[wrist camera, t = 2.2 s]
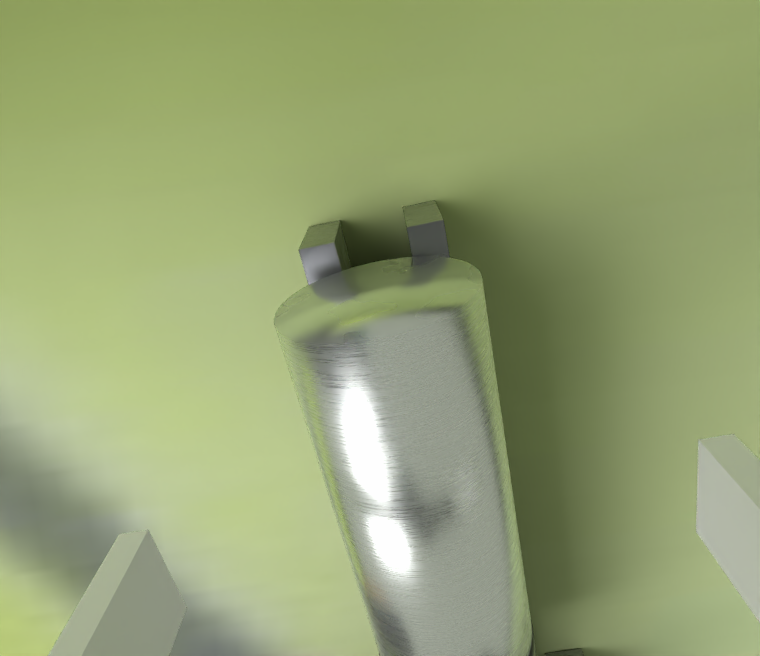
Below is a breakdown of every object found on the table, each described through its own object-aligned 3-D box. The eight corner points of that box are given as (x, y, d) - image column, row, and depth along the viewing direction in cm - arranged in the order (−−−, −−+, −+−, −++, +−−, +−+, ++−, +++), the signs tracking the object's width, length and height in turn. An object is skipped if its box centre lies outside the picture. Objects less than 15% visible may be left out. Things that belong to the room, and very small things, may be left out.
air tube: (289, 278, 19) (253, 363, 13) (466, 243, 18) (503, 315, 13) (409, 684, 28) (417, 835, 22) (530, 667, 27) (568, 817, 22)
